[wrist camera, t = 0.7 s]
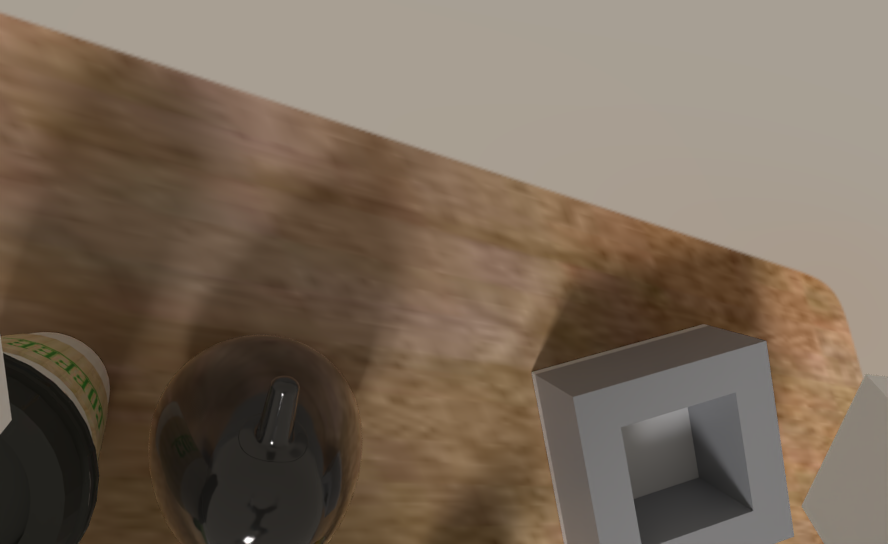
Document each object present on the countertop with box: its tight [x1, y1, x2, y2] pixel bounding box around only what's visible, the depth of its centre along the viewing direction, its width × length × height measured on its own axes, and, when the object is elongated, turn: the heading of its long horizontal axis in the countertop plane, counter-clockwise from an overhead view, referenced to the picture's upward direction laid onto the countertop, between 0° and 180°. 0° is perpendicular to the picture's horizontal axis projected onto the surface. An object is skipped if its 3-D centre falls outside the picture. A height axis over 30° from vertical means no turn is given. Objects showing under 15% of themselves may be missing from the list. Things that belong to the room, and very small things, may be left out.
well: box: [532, 324, 794, 544], centre depth 44 cm, size 12×12×6 cm
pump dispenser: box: [148, 335, 362, 544], centre depth 34 cm, size 10×10×15 cm
